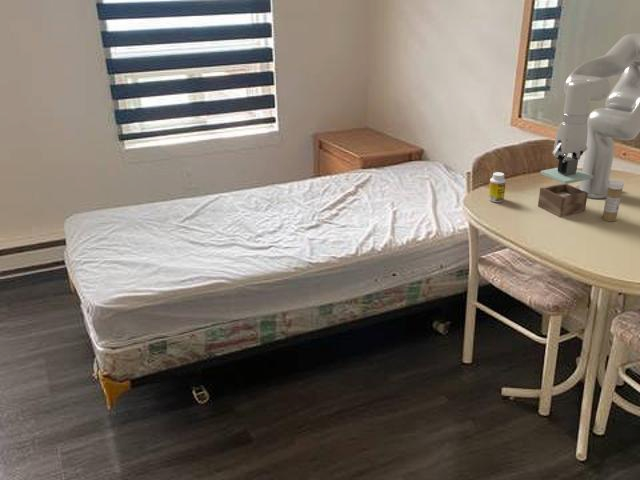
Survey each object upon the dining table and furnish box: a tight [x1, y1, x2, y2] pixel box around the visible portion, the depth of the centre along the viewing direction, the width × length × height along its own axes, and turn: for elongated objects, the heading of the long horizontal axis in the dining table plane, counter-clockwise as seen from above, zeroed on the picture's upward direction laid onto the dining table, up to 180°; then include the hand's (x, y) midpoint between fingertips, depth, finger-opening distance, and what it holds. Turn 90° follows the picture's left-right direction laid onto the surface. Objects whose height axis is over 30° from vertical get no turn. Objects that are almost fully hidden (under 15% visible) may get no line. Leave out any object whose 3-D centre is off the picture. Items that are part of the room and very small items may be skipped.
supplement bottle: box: [488, 171, 507, 203], centre depth 216 cm, size 6×6×10 cm
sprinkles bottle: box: [601, 179, 625, 222], centre depth 197 cm, size 5×5×13 cm
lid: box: [539, 156, 593, 185], centre depth 203 cm, size 12×12×7 cm
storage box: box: [537, 183, 588, 218], centre depth 208 cm, size 11×11×7 cm
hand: (567, 170), depth 203 cm, fingers closed on lid, 4 cm apart
